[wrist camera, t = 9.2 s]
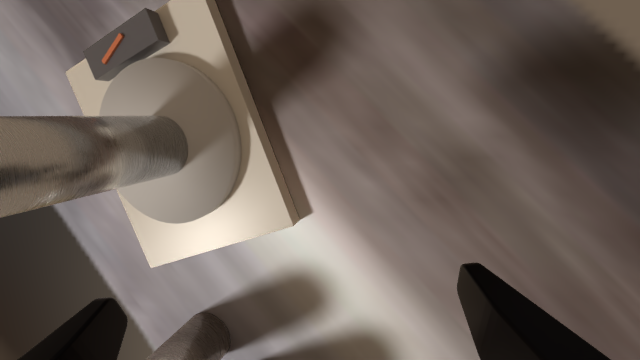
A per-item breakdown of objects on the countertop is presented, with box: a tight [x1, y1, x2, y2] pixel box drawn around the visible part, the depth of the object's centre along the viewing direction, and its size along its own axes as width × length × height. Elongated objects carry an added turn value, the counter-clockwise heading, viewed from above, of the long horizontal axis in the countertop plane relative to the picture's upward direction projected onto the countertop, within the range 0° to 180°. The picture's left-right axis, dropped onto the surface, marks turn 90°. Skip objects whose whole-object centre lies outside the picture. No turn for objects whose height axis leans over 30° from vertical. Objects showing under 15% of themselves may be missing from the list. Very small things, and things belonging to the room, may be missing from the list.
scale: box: [65, 0, 300, 268], centre depth 22 cm, size 16×13×2 cm
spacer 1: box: [0, 115, 188, 218], centre depth 16 cm, size 4×4×11 cm
